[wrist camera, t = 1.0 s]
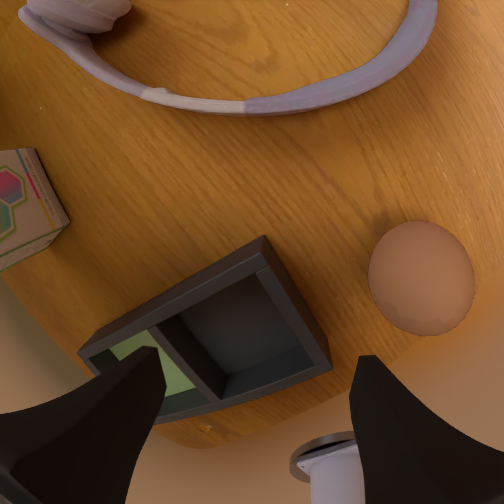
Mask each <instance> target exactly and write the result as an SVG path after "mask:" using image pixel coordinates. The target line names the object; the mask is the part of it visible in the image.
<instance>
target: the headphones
mask: <svg viewBox="0 0 504 504" xmlns="http://www.w3.org/2000/svg"><path fill="white" fill-rule="evenodd" d="M131 6H132V4H131V1H130V0H27V4H26V5H24V6H23V7H22V8H20V9H19V12H18V16H19V18H20V19H21V20H22V21H23V22H24V23H25V24H26V25H27V26H28V27H29V28H30V29H31V30H32V31H34V32H35V33H36V34H38V35H39V36H41V37H42V38H44V39H45V40H46V41H48V42H50V43H51V44H53V45H54V46H56V47H57V48H59V49H60V50H61V51H63V52H64V53H65V54H67V55H68V56H69V57H70V58H71V59H72V60H73V61H75V62H76V63H77V64H78V65H79V66H81V67H82V68H83V69H84V70H86V71H87V72H89V73H90V74H92V75H93V76H95V77H96V78H98V79H99V80H101V81H103V82H105V83H107V84H108V85H110V86H112V87H115V88H117V89H119V90H122V91H124V92H126V93H129V94H131V95H134V96H137V97H140V98H142V99H144V100H147V101H150V102H154V103H157V104H162V105H166V106H170V107H174V108H178V109H183V110H188V111H193V112H197V113H204V114H212V115H223V116H239V117H262V116H279V115H288V114H295V113H301V112H307V111H311V110H315V109H319V108H323V107H327V106H330V105H333V104H336V103H339V102H341V101H344V100H347V99H350V98H353V97H356V96H358V95H360V94H363V93H365V92H367V91H369V90H371V89H374V88H376V87H378V86H379V85H381V84H383V83H385V82H386V81H388V80H389V79H391V78H392V77H394V76H395V75H397V74H398V73H399V72H401V71H402V70H403V69H404V68H406V67H407V66H408V65H409V64H410V63H411V62H412V61H413V60H414V59H415V58H416V57H417V56H418V55H419V53H420V52H421V51H422V49H423V48H424V46H425V45H426V43H427V41H428V39H429V37H430V35H431V33H432V31H433V28H434V24H435V21H436V15H437V6H438V0H410V2H409V7H408V12H407V15H406V17H405V19H404V21H403V22H402V24H401V26H400V27H399V29H398V31H397V32H396V34H395V35H394V37H393V38H392V39H391V40H390V42H389V43H388V44H387V45H386V47H385V48H384V49H383V50H382V51H381V52H380V53H379V54H378V55H377V56H376V57H375V58H373V59H372V60H370V61H369V62H368V63H366V64H365V65H363V66H360V67H358V68H356V69H354V70H351V71H349V72H347V73H344V74H341V75H339V76H336V77H333V78H329V79H326V80H323V81H320V82H316V83H313V84H310V85H307V86H304V87H301V88H299V89H296V90H293V91H290V92H287V93H284V94H281V95H276V96H269V97H257V98H249V99H248V100H246V101H224V100H213V99H201V98H193V97H185V96H180V95H177V94H176V93H174V92H172V91H171V90H168V89H165V88H160V87H159V88H152V87H149V86H146V85H144V84H142V83H140V82H137V81H135V80H133V79H131V78H129V77H128V76H126V75H124V74H122V73H121V72H119V71H118V70H116V69H115V68H113V67H112V66H110V65H109V64H108V63H106V62H105V61H104V60H103V59H101V58H100V57H99V56H98V55H97V54H96V53H95V52H94V50H93V49H92V42H91V40H90V38H89V37H88V34H87V32H88V33H102V32H106V31H110V30H111V29H113V24H114V22H115V21H116V19H117V18H118V17H121V16H123V15H125V14H126V13H127V12H128V11H129V10H130V9H131Z"/></svg>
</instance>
